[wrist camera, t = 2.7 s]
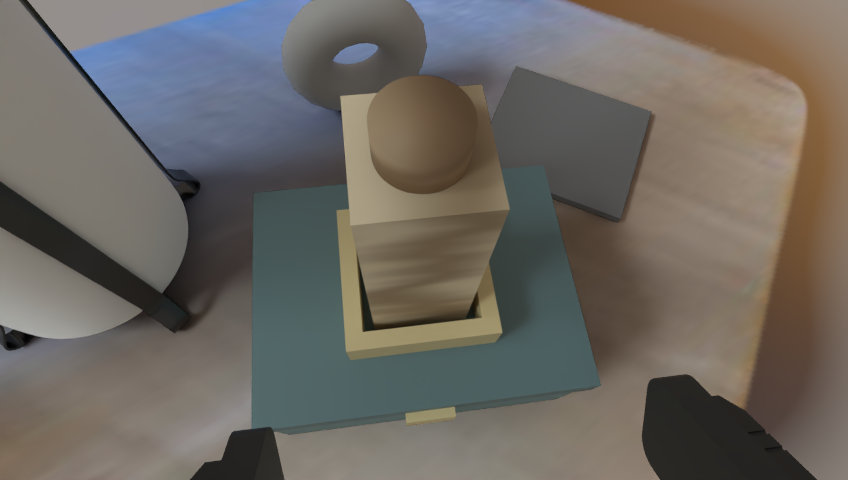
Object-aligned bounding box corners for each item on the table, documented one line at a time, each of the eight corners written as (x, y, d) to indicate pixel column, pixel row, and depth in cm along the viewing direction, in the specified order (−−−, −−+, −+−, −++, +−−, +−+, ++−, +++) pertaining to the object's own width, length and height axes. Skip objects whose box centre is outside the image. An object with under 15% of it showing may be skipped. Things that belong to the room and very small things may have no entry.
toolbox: (285, 447, 29) (237, 440, 21) (281, 243, 34) (242, 173, 26) (562, 409, 30) (619, 389, 22) (518, 218, 36) (552, 145, 27)
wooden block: (375, 330, 25) (344, 199, 13) (367, 247, 27) (334, 61, 14) (465, 319, 25) (520, 182, 13) (451, 238, 27) (489, 49, 15)
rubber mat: (471, 168, 37) (472, 164, 37) (514, 71, 41) (516, 66, 40) (617, 222, 36) (620, 218, 35) (647, 116, 40) (651, 111, 39)
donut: (302, 134, 38) (269, 29, 29) (293, 98, 39) (259, -13, 30) (430, 105, 39) (437, -3, 30) (417, 72, 41) (420, -42, 32)
